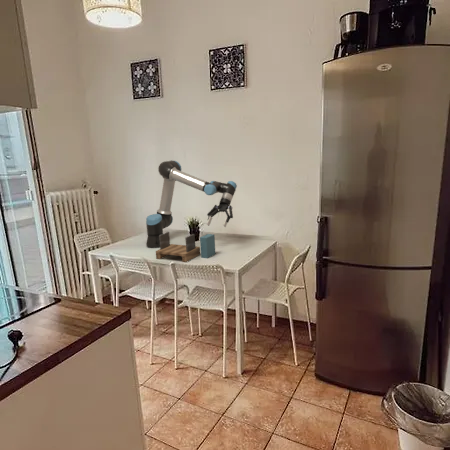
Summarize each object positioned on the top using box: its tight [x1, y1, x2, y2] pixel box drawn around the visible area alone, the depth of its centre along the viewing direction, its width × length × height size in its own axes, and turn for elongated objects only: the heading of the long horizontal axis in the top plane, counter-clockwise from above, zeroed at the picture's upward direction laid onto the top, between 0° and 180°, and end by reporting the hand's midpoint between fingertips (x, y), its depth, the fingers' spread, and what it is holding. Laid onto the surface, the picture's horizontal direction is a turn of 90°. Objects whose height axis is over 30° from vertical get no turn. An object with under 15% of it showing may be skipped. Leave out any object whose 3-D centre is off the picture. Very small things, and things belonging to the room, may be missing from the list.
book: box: [199, 233, 217, 259], centre depth 243 cm, size 5×10×14 cm, turn 149°
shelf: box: [155, 231, 201, 263], centre depth 244 cm, size 24×18×16 cm
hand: (216, 225), depth 249 cm, fingers open, 13 cm apart
